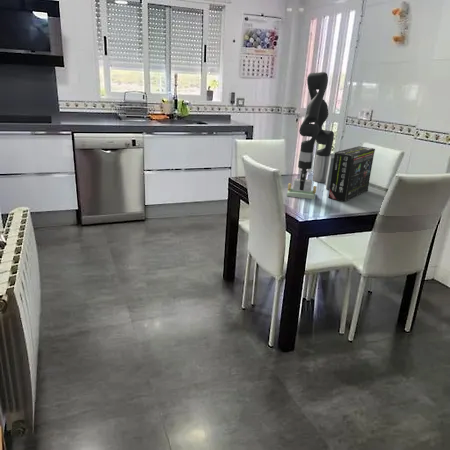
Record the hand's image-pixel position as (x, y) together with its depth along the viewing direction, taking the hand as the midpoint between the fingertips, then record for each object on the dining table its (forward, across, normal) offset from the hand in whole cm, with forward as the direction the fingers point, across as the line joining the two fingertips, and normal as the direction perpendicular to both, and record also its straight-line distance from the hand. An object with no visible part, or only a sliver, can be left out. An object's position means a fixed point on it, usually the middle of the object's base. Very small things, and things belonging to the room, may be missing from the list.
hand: (301, 188), depth 230 cm
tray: (+4, 0, 0) cm, 4 cm away
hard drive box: (+4, -28, +18) cm, 33 cm away
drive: (+1, 0, 0) cm, 1 cm away
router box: (+4, -14, +27) cm, 31 cm away
